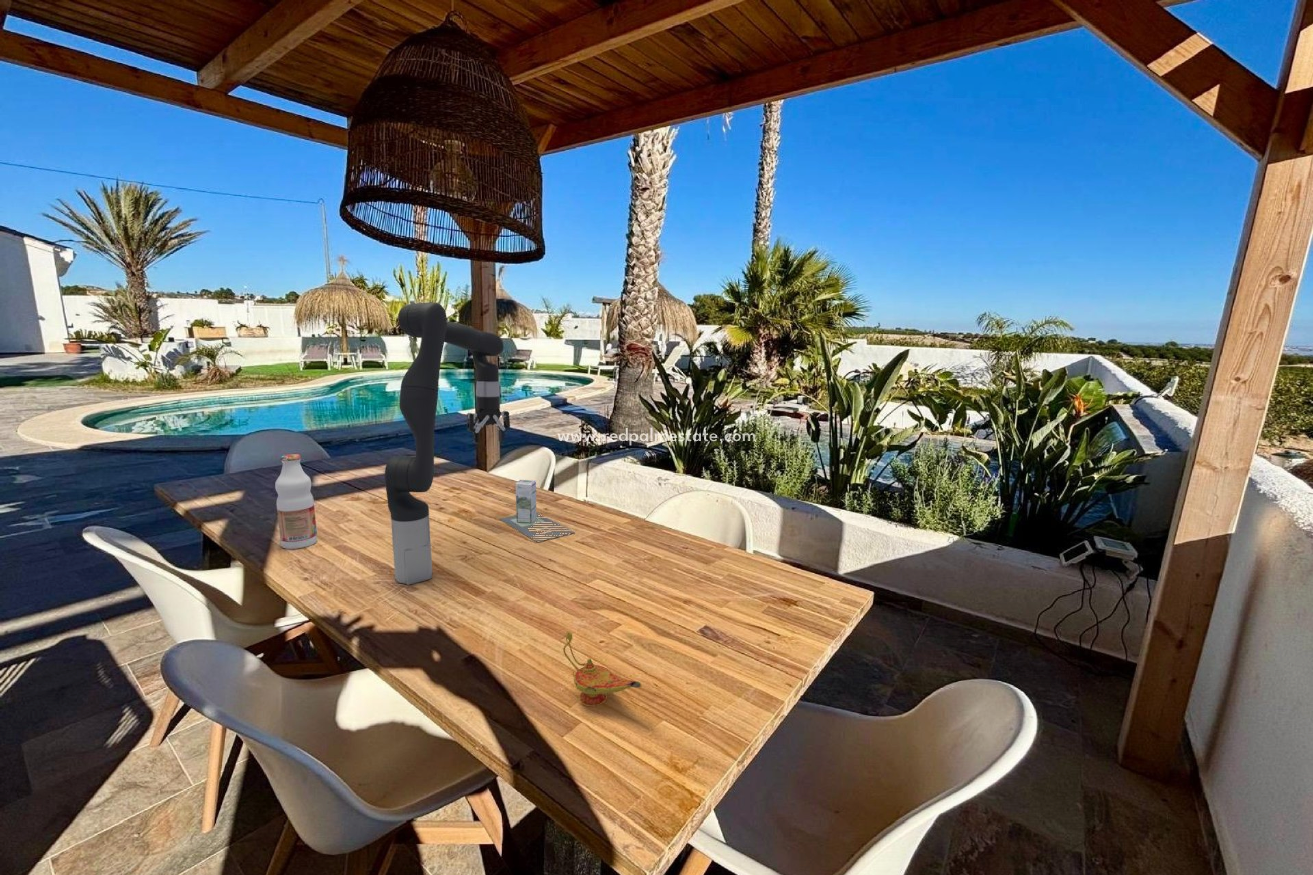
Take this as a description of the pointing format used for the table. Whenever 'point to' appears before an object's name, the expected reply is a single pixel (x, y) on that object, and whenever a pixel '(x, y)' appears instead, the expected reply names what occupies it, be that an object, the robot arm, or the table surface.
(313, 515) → the fruit juice
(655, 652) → the table surface
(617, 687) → the magic lamp
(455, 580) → the table surface
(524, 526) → the mat
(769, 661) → the table surface
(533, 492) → the syrup box
